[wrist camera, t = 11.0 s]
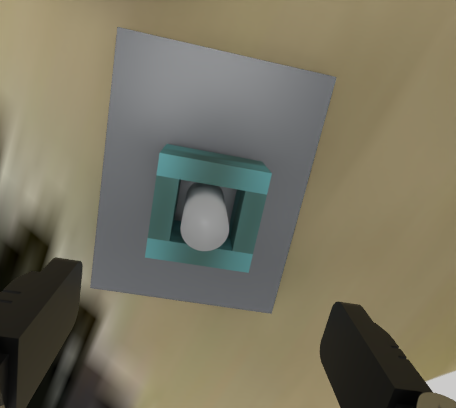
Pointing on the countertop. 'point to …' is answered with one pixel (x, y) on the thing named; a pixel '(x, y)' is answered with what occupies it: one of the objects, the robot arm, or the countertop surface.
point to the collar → (213, 175)
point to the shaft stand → (207, 141)
